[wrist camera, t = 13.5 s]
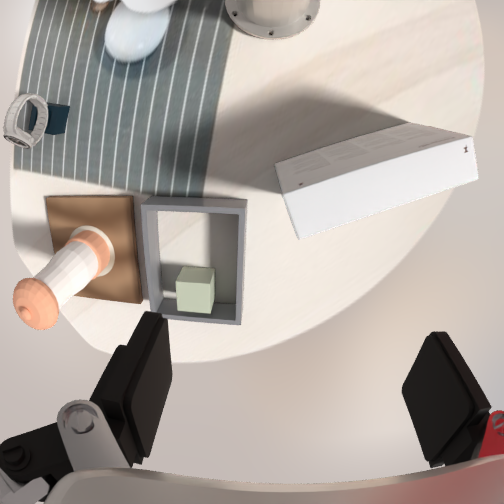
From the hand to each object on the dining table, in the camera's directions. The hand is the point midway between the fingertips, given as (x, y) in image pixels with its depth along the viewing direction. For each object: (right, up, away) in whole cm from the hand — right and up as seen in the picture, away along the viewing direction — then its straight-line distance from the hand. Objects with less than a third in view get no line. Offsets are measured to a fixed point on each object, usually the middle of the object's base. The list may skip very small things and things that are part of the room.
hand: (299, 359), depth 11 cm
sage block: (-10, -1, +40) cm, 41 cm away
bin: (-10, +3, +38) cm, 40 cm away
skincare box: (+12, +17, +32) cm, 38 cm away
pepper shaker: (-28, +4, +38) cm, 47 cm away
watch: (-33, +25, +30) cm, 51 cm away
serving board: (-28, +4, +39) cm, 48 cm away
